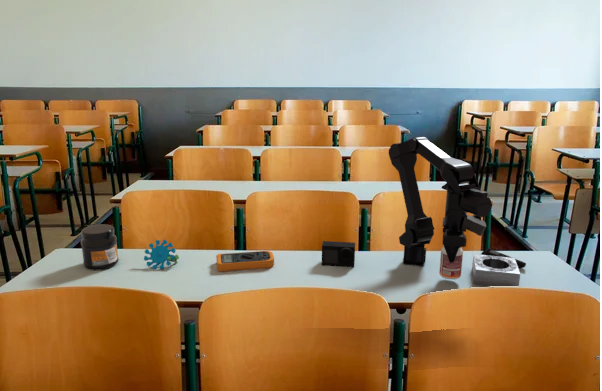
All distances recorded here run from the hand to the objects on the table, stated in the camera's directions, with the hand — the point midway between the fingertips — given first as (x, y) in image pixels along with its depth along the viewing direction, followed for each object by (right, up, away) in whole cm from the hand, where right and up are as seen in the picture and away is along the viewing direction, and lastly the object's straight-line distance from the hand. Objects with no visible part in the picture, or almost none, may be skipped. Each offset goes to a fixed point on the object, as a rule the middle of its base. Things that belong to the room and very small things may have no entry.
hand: (451, 258), depth 150 cm
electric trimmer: (+22, -4, +16) cm, 27 cm away
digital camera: (-32, -4, +14) cm, 35 cm away
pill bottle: (0, -6, +2) cm, 6 cm away
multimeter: (-62, -4, +13) cm, 63 cm away
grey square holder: (+14, -7, +4) cm, 16 cm away
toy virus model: (-88, -4, +13) cm, 89 cm away
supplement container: (-108, -4, +13) cm, 108 cm away
